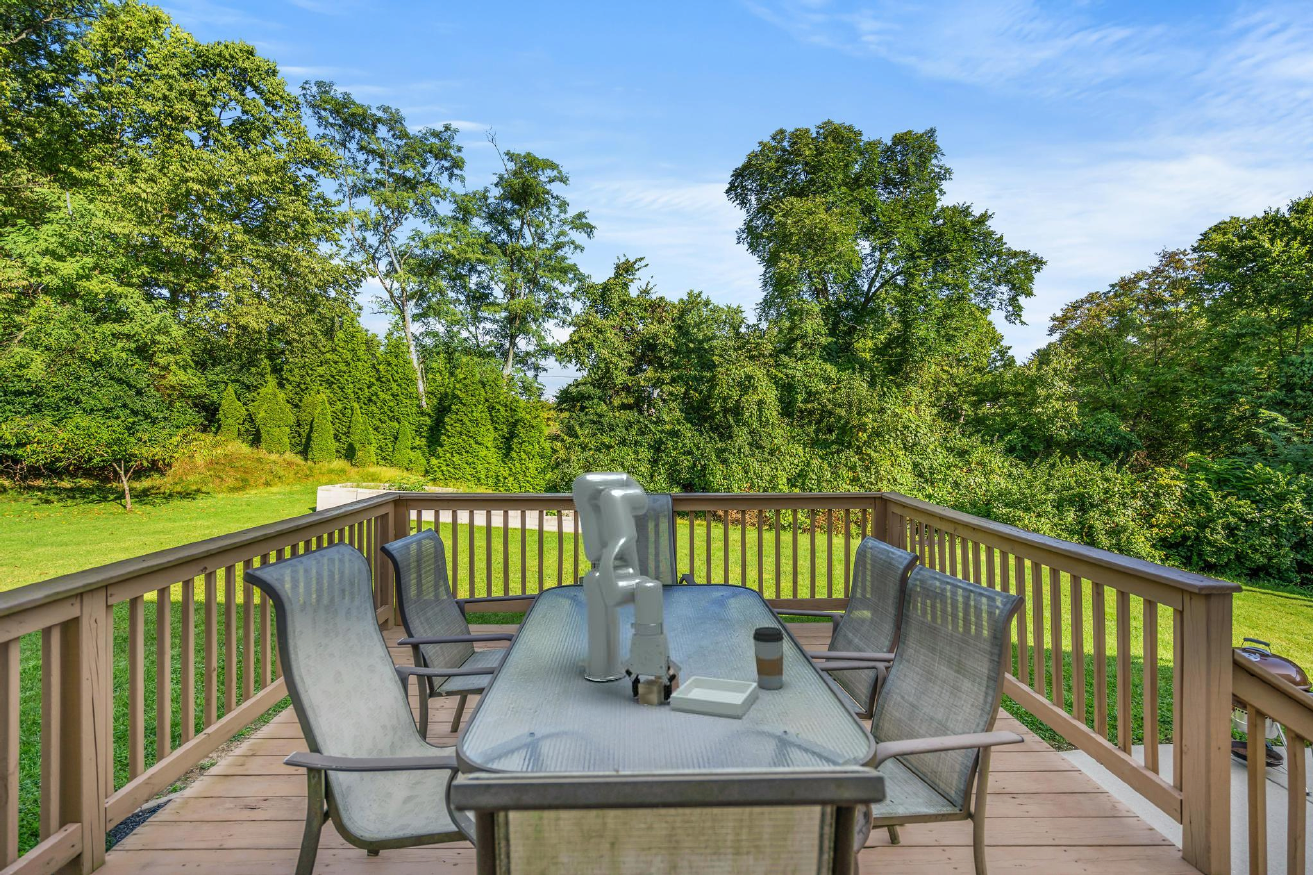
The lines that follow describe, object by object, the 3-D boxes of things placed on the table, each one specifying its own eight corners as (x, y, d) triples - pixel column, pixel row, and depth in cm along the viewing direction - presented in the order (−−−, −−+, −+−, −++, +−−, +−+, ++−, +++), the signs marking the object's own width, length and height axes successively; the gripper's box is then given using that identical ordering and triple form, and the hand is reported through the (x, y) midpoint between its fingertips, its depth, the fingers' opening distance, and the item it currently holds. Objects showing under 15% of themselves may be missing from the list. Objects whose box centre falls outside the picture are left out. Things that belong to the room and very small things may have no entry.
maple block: (639, 704, 160) (638, 684, 160) (647, 697, 165) (646, 678, 165) (656, 706, 158) (656, 686, 158) (664, 699, 163) (663, 680, 163)
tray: (670, 710, 155) (670, 695, 155) (693, 689, 170) (693, 676, 170) (740, 719, 148) (740, 704, 148) (758, 696, 162) (757, 682, 162)
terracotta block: (655, 691, 169) (654, 672, 170) (662, 685, 174) (661, 667, 174) (672, 693, 167) (671, 674, 168) (679, 687, 172) (678, 668, 172)
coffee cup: (786, 691, 165) (783, 634, 166) (754, 690, 167) (751, 633, 168) (786, 681, 173) (783, 626, 174) (755, 680, 175) (753, 626, 176)
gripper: (613, 629, 163) (615, 698, 162) (674, 634, 156) (677, 706, 154) (626, 623, 170) (628, 689, 168) (685, 627, 162) (688, 696, 161)
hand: (651, 697), depth 161 cm, fingers open, 8 cm apart
